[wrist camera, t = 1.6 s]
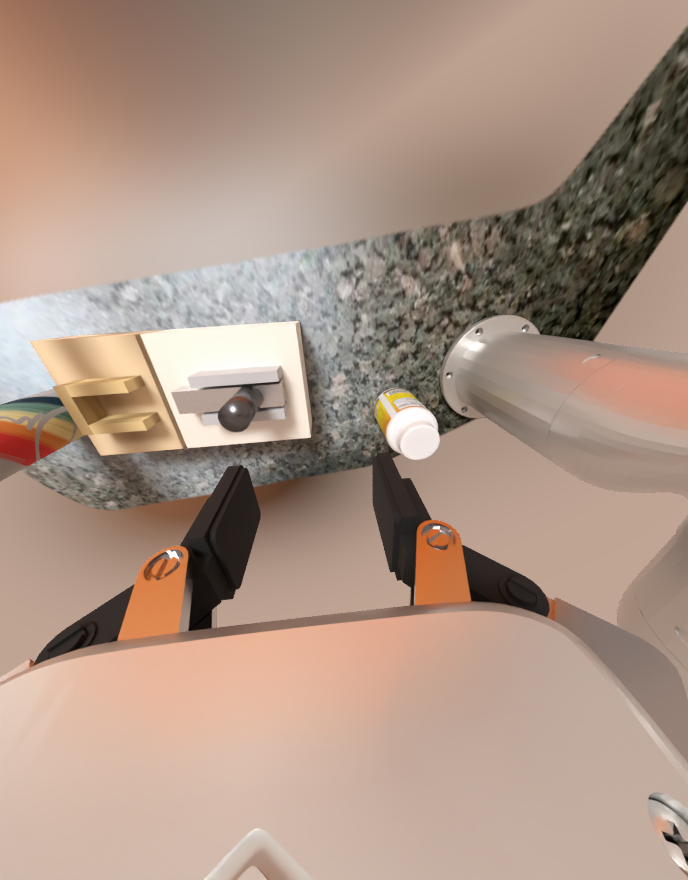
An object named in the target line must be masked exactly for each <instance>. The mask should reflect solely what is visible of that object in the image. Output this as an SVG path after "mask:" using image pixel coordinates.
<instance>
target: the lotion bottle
mask: <svg viewBox="0 0 688 880" xmlns="http://www.w3.org/2000/svg"><path fill="white" fill-rule="evenodd" d="M82 436H83V434H82V433H81V431H80V430H79V428H78V426H77V425H76V423H75V422H74V420H73V419H72V417H71V415H70V414H69V412H68V411H67V409H66V408H65V406H64V404H63V403H62V401H61V400H60V398H59V396H58V395H57V393H56V392H55V390H54V389H51V390H48V391H44V392H41V393H37V394H34V395H31V396H28V397H24V398H21V399H18V400H15V401H11V402H8V403H5V404H2V405H0V481H2V480H3V479H5V478H7V477H9V476H11V475H12V474H14V473H16V472H18V471H20V470H22V469H24V468H25V467H27V466H29V465H31V464H33V463H35V462H36V461H38V460H40V459H42V458H44V457H46V456H47V455H49V454H51V453H53V452H55V451H57V450H58V449H60V448H62V447H64V446H66V445H68V444H69V443H71V442H73V441H75V440H77V439H79V438H80V437H82Z"/></svg>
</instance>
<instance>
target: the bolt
mask: <svg viewBox="0 0 688 880" xmlns="http://www.w3.org/2000/svg"><path fill="white" fill-rule="evenodd" d="M171 394H172V396H173V399H174V401H175V404H176V406H177V409H178V411H179V414H190V413H203V412H216V411H219V412H218V420H219V422H220V424H221V425H222V426H223V427H224V428H225V429H227V430H228V431H231V432H242V431H244V430H246V429H247V428H248V426H249V425H250V423H251V421H252V420H253V418H254V416H255V415H256V413H257V411H258V410H259V408H266V407H278V406H284V404H285V401H286V395H285V390H284V384H283V379H280V380H279V382H266V383H252V384H239V385H226V386H213V387H199V388H191V387H190V386H181V387H179V388H178V389H176V390H174V391H172V392H171Z"/></svg>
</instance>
